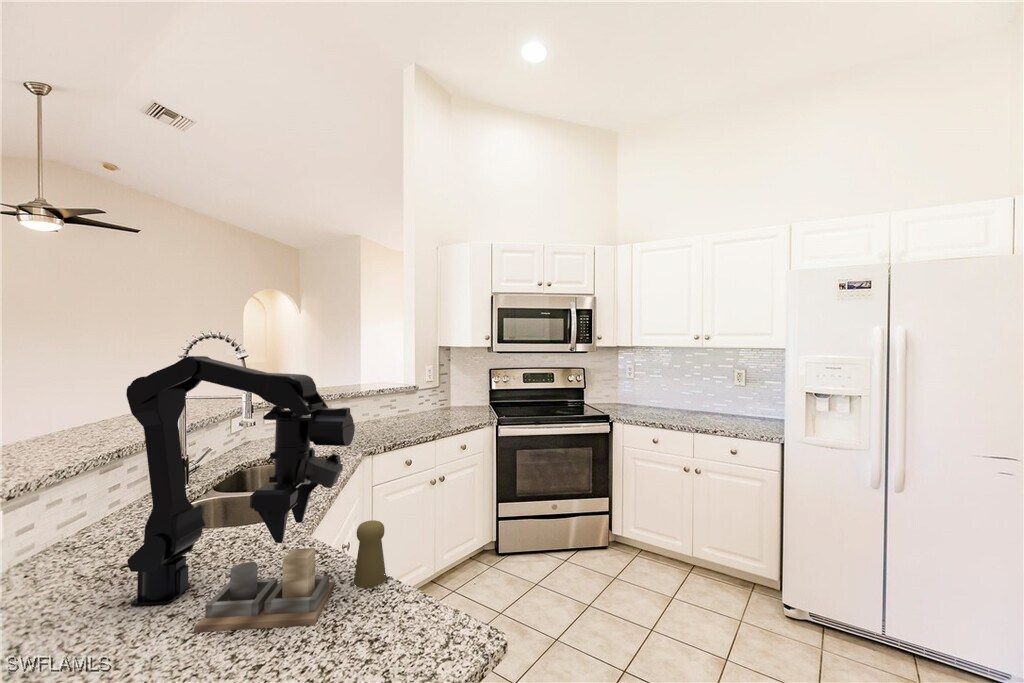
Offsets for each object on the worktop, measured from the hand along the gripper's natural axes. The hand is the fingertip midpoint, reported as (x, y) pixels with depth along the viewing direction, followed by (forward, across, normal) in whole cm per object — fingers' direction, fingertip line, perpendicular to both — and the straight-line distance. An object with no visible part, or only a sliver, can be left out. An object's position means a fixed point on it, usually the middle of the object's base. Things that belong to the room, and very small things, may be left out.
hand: (289, 532), depth 81 cm
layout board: (+12, -3, +2) cm, 12 cm away
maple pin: (+11, -3, -3) cm, 11 cm away
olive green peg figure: (+12, +5, -13) cm, 18 cm away
